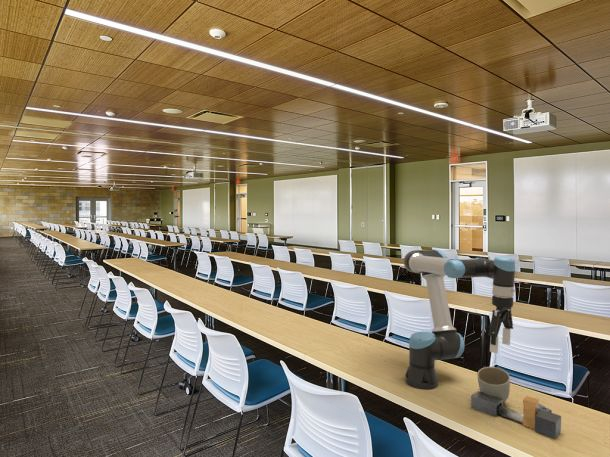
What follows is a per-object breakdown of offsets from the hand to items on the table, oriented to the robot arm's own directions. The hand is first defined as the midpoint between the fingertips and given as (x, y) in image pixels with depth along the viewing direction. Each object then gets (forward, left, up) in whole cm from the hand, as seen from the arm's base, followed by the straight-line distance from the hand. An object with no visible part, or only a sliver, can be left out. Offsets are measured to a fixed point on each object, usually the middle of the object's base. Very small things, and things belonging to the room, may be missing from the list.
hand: (500, 348), depth 154 cm
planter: (-5, +10, -25) cm, 27 cm away
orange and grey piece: (+9, 0, -27) cm, 28 cm away
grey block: (-4, 0, -27) cm, 27 cm away
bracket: (+9, +17, -27) cm, 33 cm away
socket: (+18, 0, -27) cm, 32 cm away
